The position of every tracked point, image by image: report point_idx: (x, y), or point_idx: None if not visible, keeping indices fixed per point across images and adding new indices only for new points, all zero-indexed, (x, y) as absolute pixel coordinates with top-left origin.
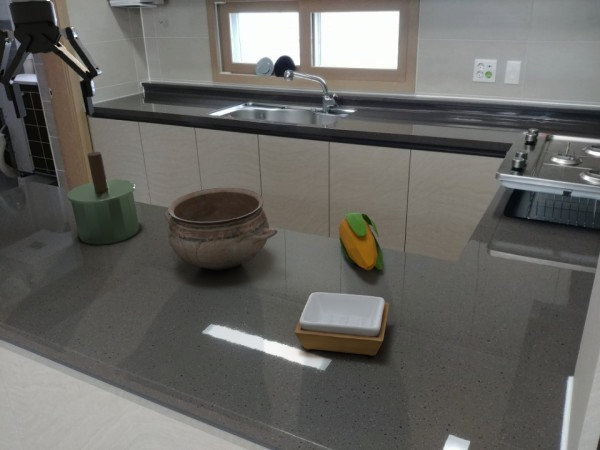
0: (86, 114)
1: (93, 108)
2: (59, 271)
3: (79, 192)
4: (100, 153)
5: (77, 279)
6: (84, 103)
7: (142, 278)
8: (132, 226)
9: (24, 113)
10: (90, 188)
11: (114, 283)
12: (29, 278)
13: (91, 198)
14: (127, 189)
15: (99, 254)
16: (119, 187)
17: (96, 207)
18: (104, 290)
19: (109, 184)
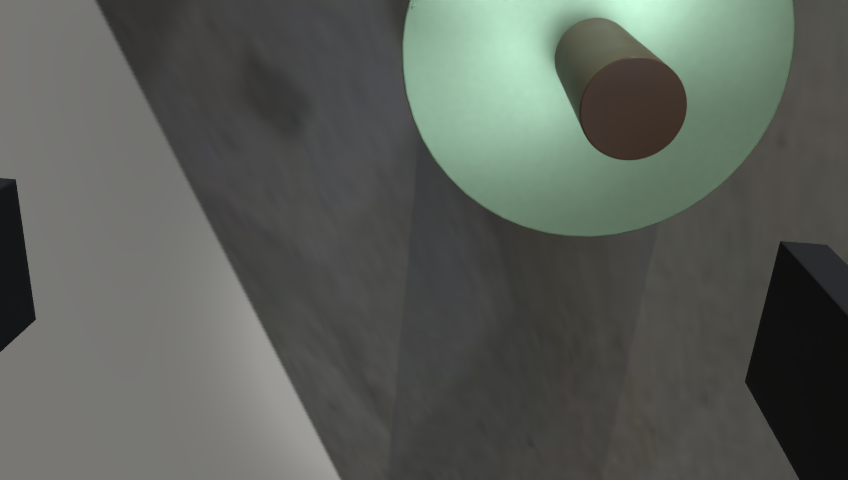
0: (751, 386)
1: (845, 267)
2: (440, 337)
3: (468, 77)
4: (682, 116)
5: (517, 399)
6: (797, 461)
7: (729, 434)
8: None
9: (4, 229)
10: (520, 17)
11: (641, 445)
12: (354, 363)
13: (560, 196)
14: (752, 90)
15: (556, 236)
16: (701, 40)
17: None
18: (616, 476)
19: None
